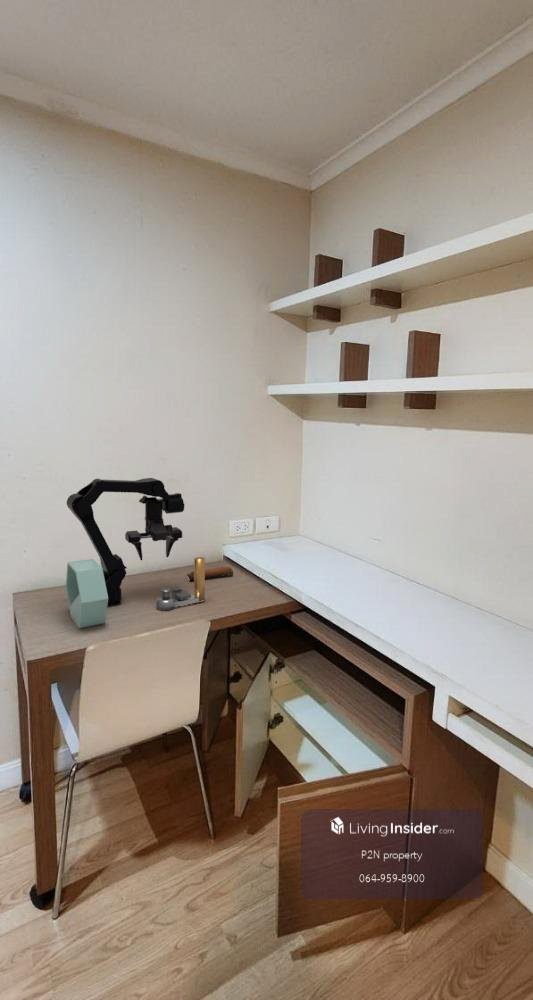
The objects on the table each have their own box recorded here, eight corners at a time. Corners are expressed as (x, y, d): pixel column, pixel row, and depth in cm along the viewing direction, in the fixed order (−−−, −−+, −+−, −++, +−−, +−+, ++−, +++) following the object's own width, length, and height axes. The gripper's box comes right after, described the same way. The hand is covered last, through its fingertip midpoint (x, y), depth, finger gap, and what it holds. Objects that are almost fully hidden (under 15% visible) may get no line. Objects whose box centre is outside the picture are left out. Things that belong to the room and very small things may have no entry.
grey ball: (162, 600, 166) (162, 592, 165) (159, 597, 169) (159, 588, 168) (172, 599, 167) (172, 590, 167) (169, 595, 170) (169, 587, 170)
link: (160, 611, 165) (160, 567, 162) (154, 605, 170) (153, 562, 167) (207, 602, 173) (208, 560, 171) (200, 597, 178) (200, 555, 176)
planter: (73, 634, 158) (62, 570, 164) (99, 628, 162) (87, 566, 168) (84, 622, 144) (72, 553, 151) (112, 616, 149) (98, 550, 155)
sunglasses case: (225, 570, 209) (228, 558, 205) (230, 583, 204) (234, 571, 200) (182, 575, 201) (185, 564, 197) (187, 589, 196) (190, 577, 192)
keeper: (180, 607, 169) (180, 595, 168) (169, 600, 175) (169, 588, 174) (191, 604, 172) (191, 593, 171) (180, 598, 177) (180, 586, 177)
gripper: (132, 522, 164) (133, 568, 167) (187, 517, 173) (187, 561, 175) (124, 515, 174) (125, 559, 176) (177, 511, 182) (177, 553, 185)
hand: (154, 558), depth 178 cm, fingers open, 9 cm apart
